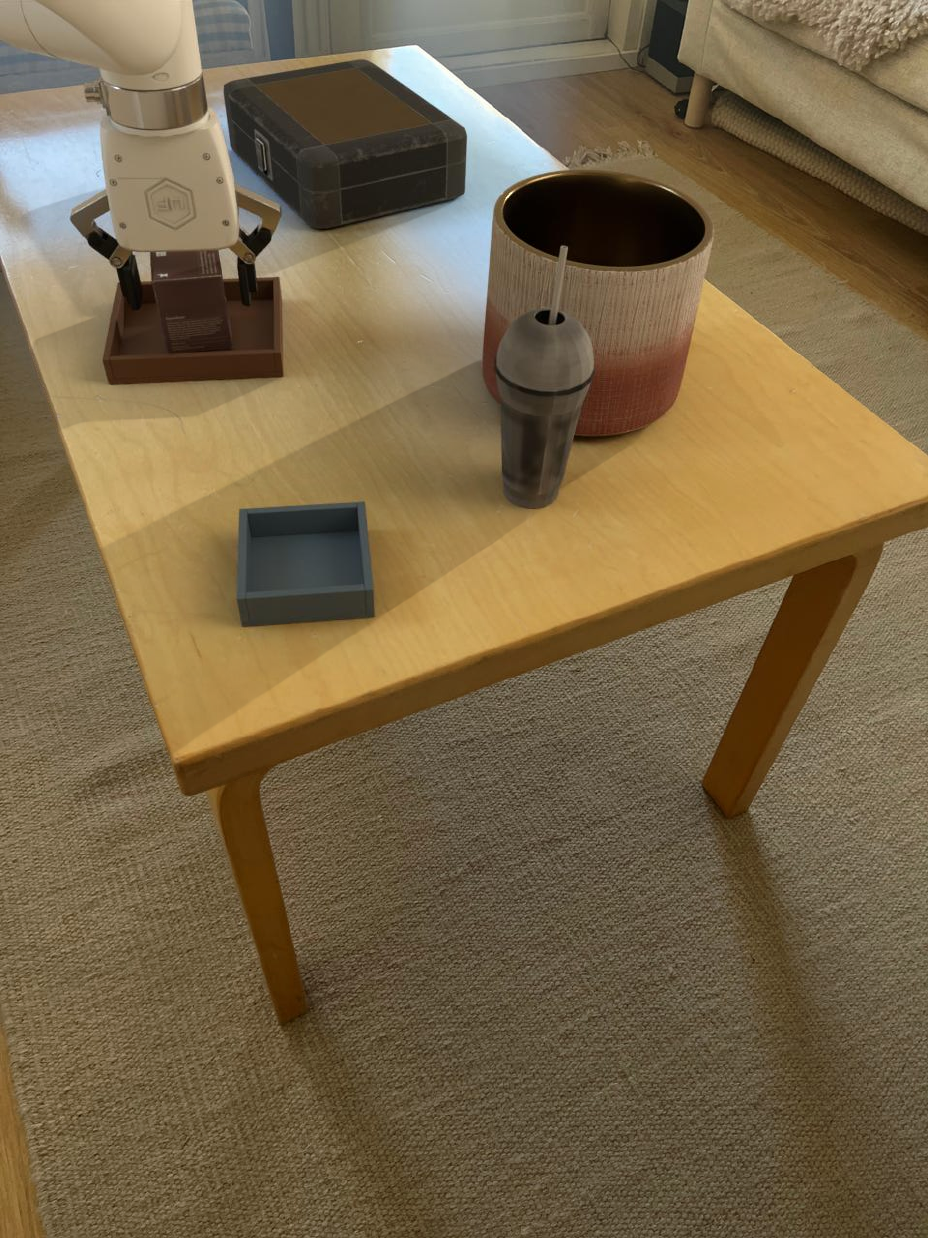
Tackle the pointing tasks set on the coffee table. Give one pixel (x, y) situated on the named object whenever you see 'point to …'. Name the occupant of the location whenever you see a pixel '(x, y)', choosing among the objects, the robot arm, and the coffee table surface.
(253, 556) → the bin
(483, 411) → the coffee table surface
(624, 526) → the coffee table surface
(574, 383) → the beverage cup
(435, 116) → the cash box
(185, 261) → the box
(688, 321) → the planter
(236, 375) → the tray
